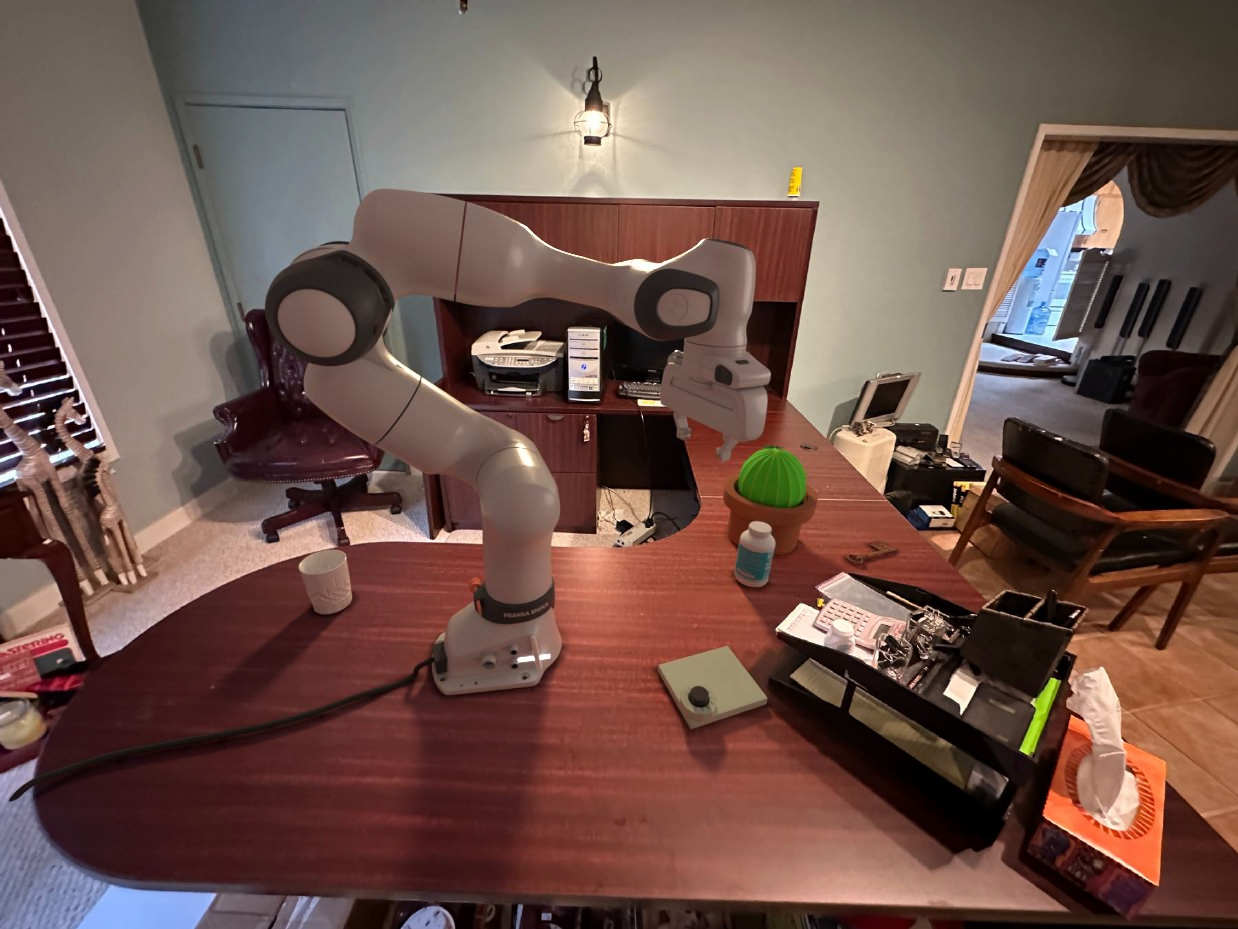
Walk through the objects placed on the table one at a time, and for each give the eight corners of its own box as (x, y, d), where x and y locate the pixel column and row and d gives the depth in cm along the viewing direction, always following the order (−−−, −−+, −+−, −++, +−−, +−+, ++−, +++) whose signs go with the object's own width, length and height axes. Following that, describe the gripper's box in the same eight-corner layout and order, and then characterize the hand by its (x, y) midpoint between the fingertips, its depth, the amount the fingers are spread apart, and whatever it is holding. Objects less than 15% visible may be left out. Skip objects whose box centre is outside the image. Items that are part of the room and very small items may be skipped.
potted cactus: (796, 573, 113) (819, 474, 103) (705, 543, 123) (718, 450, 112) (813, 530, 131) (834, 442, 120) (733, 507, 140) (746, 424, 130)
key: (881, 543, 127) (837, 554, 121) (882, 540, 126) (837, 551, 121) (901, 554, 122) (856, 566, 116) (902, 551, 121) (857, 562, 116)
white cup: (364, 597, 99) (355, 556, 95) (328, 622, 93) (317, 579, 89) (337, 585, 102) (327, 545, 98) (300, 608, 96) (288, 566, 92)
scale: (689, 732, 75) (691, 718, 74) (655, 671, 86) (656, 658, 84) (767, 706, 80) (770, 692, 79) (726, 651, 90) (728, 638, 89)
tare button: (695, 710, 76) (696, 702, 75) (686, 695, 78) (687, 688, 78) (711, 705, 77) (712, 697, 76) (702, 690, 79) (703, 683, 78)
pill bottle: (768, 591, 107) (779, 538, 101) (734, 586, 108) (743, 533, 102) (766, 571, 113) (776, 520, 108) (733, 566, 115) (742, 515, 109)
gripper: (654, 348, 79) (648, 430, 84) (746, 379, 63) (731, 477, 69) (685, 346, 82) (677, 425, 87) (780, 375, 66) (763, 469, 72)
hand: (701, 448), depth 78 cm, fingers open, 8 cm apart
